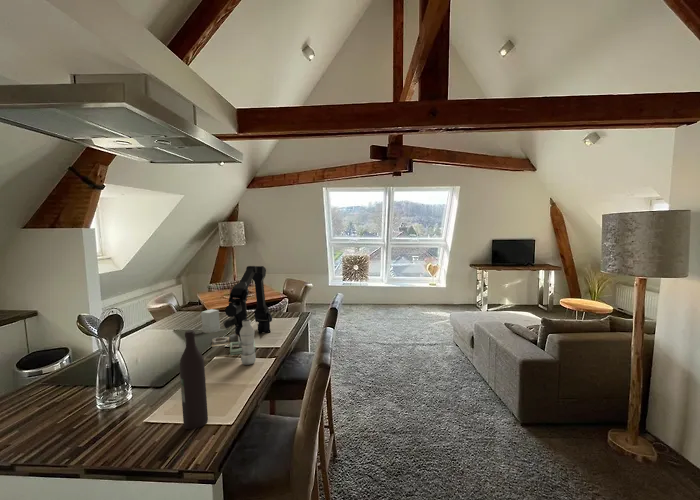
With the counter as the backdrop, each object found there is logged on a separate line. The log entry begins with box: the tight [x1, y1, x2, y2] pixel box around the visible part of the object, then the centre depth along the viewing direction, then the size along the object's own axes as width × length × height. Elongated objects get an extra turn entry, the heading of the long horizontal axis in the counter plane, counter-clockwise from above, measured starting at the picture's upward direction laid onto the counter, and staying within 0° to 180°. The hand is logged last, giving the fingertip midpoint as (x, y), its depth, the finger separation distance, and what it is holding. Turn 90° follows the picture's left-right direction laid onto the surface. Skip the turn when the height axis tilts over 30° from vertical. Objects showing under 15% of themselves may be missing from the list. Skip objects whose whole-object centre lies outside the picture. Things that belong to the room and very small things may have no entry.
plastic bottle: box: [240, 318, 257, 366], centre depth 154 cm, size 6×7×20 cm
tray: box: [229, 340, 257, 356], centre depth 173 cm, size 12×12×2 cm
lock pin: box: [238, 336, 242, 349], centre depth 172 cm, size 4×4×8 cm
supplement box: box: [200, 308, 221, 334], centre depth 204 cm, size 7×7×13 cm
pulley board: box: [211, 333, 239, 347], centre depth 183 cm, size 18×13×4 cm
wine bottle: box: [179, 329, 209, 431], centre depth 107 cm, size 7×7×30 cm
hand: (242, 341), depth 172 cm, fingers open, 9 cm apart
